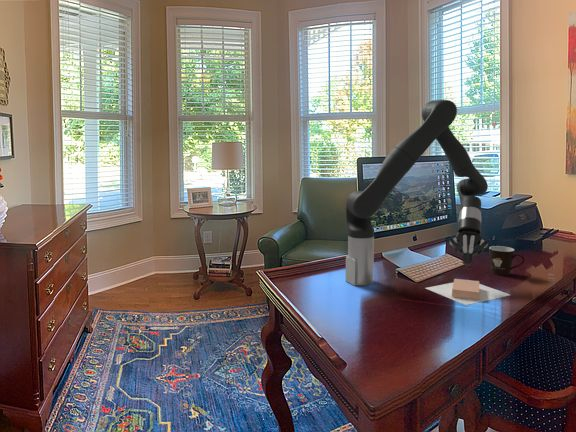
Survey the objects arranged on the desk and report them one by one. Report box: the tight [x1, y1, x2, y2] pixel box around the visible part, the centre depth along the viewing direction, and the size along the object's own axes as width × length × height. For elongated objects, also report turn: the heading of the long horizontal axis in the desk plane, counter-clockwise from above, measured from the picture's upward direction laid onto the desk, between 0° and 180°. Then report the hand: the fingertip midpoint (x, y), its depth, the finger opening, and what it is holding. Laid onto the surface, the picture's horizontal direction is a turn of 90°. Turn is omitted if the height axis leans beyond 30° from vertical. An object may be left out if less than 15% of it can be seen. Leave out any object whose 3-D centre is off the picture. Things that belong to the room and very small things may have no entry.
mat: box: [425, 282, 511, 307], centre depth 146 cm, size 20×18×1 cm
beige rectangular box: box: [452, 278, 480, 300], centre depth 144 cm, size 3×8×12 cm
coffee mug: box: [488, 245, 525, 277], centre depth 163 cm, size 12×9×10 cm
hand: (467, 264), depth 145 cm, fingers closed
